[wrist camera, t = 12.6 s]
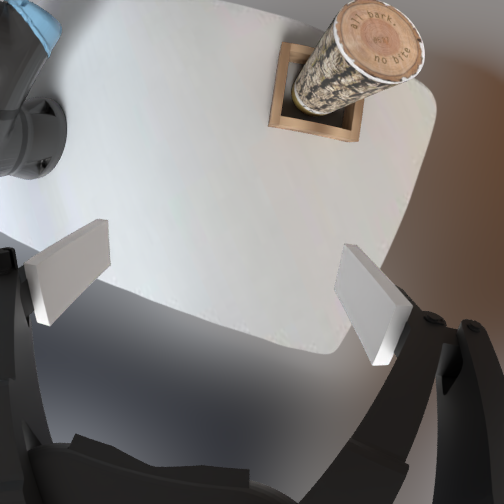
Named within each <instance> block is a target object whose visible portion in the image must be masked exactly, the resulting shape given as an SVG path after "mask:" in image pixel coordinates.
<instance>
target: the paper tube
mask: <svg viewBox="0 0 504 504" xmlns="http://www.w3.org/2000/svg"><path fill="white" fill-rule="evenodd" d="M424 58H425V51H424V45H423V42H422V39H421V37H420V34H419V32H418V31H417V29H416V27H415V26H414V25H413V24H412V22H411V21H410V20H409V19H408V18H407V17H406V16H405V15H404V14H403V13H401V12H400V11H399V10H397V9H396V8H394V7H393V6H391V5H388V4H386V3H384V2H381V1H378V0H354V1H352V2H349V3H348V4H346V5H345V6H344V7H343V8H342V9H341V10H340V11H339V12H338V14H337V15H336V17H335V18H334V20H333V21H332V23H331V24H330V26H329V27H328V29H327V31H326V32H325V33H324V35H323V37H322V38H321V40H320V41H319V43H318V44H317V46H316V48H315V49H314V51H313V52H312V54H311V56H310V57H309V59H308V61H307V62H306V64H305V65H304V67H303V69H302V70H301V72H300V74H299V75H298V77H297V79H296V81H295V82H294V84H293V86H292V91H291V95H292V100H293V102H294V104H295V106H296V107H297V108H298V109H299V110H300V111H301V112H303V113H304V114H306V115H309V116H314V117H319V116H324V115H326V114H329V113H331V112H333V111H336V110H338V109H340V108H342V107H345V106H347V105H349V104H351V103H354V102H356V101H358V100H361V99H363V98H366V97H368V96H370V95H373V94H375V93H378V92H380V91H383V90H385V89H388V88H390V87H393V86H396V85H398V84H401V83H404V82H406V81H408V80H410V79H412V78H414V77H415V76H416V75H417V74H418V73H419V72H420V70H421V68H422V66H423V64H424Z"/></svg>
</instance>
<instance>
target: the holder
mask: <svg viewBox="0 0 504 504" xmlns="http://www.w3.org/2000/svg"><path fill="white" fill-rule="evenodd" d="M314 49H315V48H312V47H308V46H303V45H298V44H292V43H286V42H282V45H281V49H280V52H279V59H278V65H277V72H276V78H275V85H274V91H273V98H272V104H271V111H270V118H269V124H268V127H275V128H281V129H287V130H292V131H298V132H303V133H308V134H313V135H318V136H323V137H328V138H332V139H336V140H341V141H345V142H358V141H359V134H360V128H361V121H362V113H363V106H364V98H363V99H361V100H358V101H356V102H354V103H351V104H349V105H347V106H345V107H344V115H343V122H342V128H338V127H333V126H329V125H325V124H320V123H315V122H310V121H305V120H300V119H295V118H289V117H284V116H281V110H282V104H283V97H284V90H285V84H286V77H287V70H288V63H289V62H293V63H299V64H304V65H305V64H306V62H307V61H308V59H309V57H310V56H311V54H312V52H313V51H314Z"/></svg>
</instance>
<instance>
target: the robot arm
mask: <svg viewBox="0 0 504 504" xmlns="http://www.w3.org/2000/svg"><path fill="white" fill-rule="evenodd" d="M61 33H62V27H61V24H60V23H59V22H58V20H56V19H55V18H54V17H53V16H52V15H51V14H49V13H48V12H47V11H45V10H44V9H42V8H41V7H39V6H38V5H36V4H34V3H33V2H29V1H28V0H4V1H3V2H1V1H0V177H2V176H6V175H10V176H14V177H18V178H22V179H26V180H32V179H36V178H40V177H43V176H45V175H47V174H48V173H49V172H51V171H52V170H53V168H54V167H55V166H56V164H57V163H58V161H59V159H60V157H61V155H62V152H63V149H64V146H65V141H66V120H65V116H64V113H63V110H62V109H61V107H60V105H59V104H58V103H57V102H56V101H54V100H52V99H50V98H44V97H35V98H31V99H29V100H26V101H25V99H26V97H27V95H28V93H29V91H30V89H31V87H32V85H33V83H34V81H35V79H36V77H37V76H38V74H39V72H40V70H41V69H42V67H43V65H44V63H45V62H46V60H47V58H49V57H50V55H51V51H52V49H53V48H54V46H55V44H56V43H57V41H58V39H59V38H60V36H61ZM110 265H111V263H110V249H109V230H108V220H102V219H96V220H94V221H93V222H91V223H89V224H87V225H85V226H84V227H82V228H80V229H78V230H76V231H75V232H73V233H71V234H70V235H68V236H66V237H64V238H63V239H61V240H59V241H58V242H56V243H54V244H53V245H51V246H49V247H48V248H46V249H45V250H43V251H41V252H40V253H38V254H37V255H35V256H33V257H32V258H30V259H29V260H27V261H26V262H24V265H23V266H21V267H20V268H18V265H17V260H16V254H15V249H14V248H10V247H6V248H1V249H0V504H393V502H394V500H395V498H396V496H397V494H398V492H399V490H400V488H401V486H402V484H403V482H404V480H405V477H406V475H407V472H408V470H409V465H408V464H406V463H405V461H406V458H407V456H408V454H409V451H410V449H411V447H412V444H413V442H414V439H415V437H416V434H417V432H418V429H419V426H420V423H421V421H422V418H423V415H424V412H425V409H426V406H427V403H428V400H429V396H430V393H431V390H432V386H433V383H434V379H435V376H436V389H437V413H438V440H437V441H438V442H437V464H436V477H435V486H434V495H433V502H432V504H504V375H503V372H502V369H501V366H500V364H499V361H498V358H497V356H496V353H495V351H494V348H493V346H492V343H491V341H490V338H489V336H488V334H487V331H486V330H485V328H484V327H483V326H482V325H481V324H480V323H479V322H477V321H473V320H468V319H465V320H462V321H461V324H460V326H459V328H458V329H453V328H448V327H446V326H447V325H446V322H445V320H444V319H443V318H442V317H441V316H439V315H437V314H435V313H432V312H429V311H422V310H421V309H420V308H419V307H418V306H417V305H416V304H415V302H414V301H412V299H411V298H410V297H409V296H408V295H407V294H406V292H405V291H404V290H403V289H401V288H399V287H398V286H396V285H394V284H393V283H392V282H391V281H390V279H389V278H388V277H387V276H386V275H385V274H384V273H383V272H382V271H381V270H380V269H379V268H378V267H377V265H376V264H375V263H374V262H373V261H372V260H371V259H370V258H369V257H368V256H367V255H366V254H365V253H364V252H363V251H362V250H361V249H360V248H359V247H358V246H357V245H352V244H344V247H343V252H342V257H341V261H340V265H339V270H338V274H337V278H336V282H335V287H334V290H335V292H336V294H337V296H338V298H339V300H340V301H341V303H342V305H343V307H344V309H345V311H346V313H347V315H348V317H349V319H350V321H351V323H352V325H353V327H354V329H355V331H356V333H357V335H358V337H359V339H360V341H361V343H362V345H363V347H364V349H365V351H366V353H367V355H368V357H369V360H370V362H371V364H372V365H389V363H390V360H391V358H392V356H393V354H394V353H395V355H396V357H397V360H396V362H395V364H394V366H393V368H392V370H391V372H390V374H389V375H388V377H387V379H386V381H385V383H384V385H383V387H382V388H381V390H380V392H379V394H378V395H377V397H376V399H375V400H374V402H373V404H372V406H371V407H370V409H369V411H368V412H367V414H366V416H365V417H364V419H363V420H362V422H361V423H360V425H359V426H358V428H357V429H356V431H355V432H354V434H353V435H352V437H351V438H350V439H349V441H348V442H347V443H346V445H345V446H344V447H343V449H342V450H341V452H340V453H339V454H338V456H337V457H336V458H335V460H334V461H333V463H332V464H331V465H330V466H329V468H328V469H327V470H326V471H325V473H324V474H323V475H322V477H321V478H320V479H319V480H318V481H317V483H316V484H315V485H314V486H313V487H312V488H311V490H310V491H309V492H308V493H307V494H306V495H305V497H304V498H303V499H302V500H301V501H300V502H299V503H296V502H295V501H294V500H293V499H291V498H290V497H288V496H287V495H285V494H283V493H282V492H280V491H278V490H276V489H274V488H271V487H269V486H267V485H264V484H261V483H258V482H254V481H250V480H249V469H235V468H223V467H213V466H204V465H201V466H182V467H154V466H150V465H148V464H145V463H144V462H142V461H140V460H138V459H135V458H134V457H132V456H130V455H128V454H126V453H124V452H122V451H120V450H119V449H117V448H115V447H113V446H111V445H107V444H104V443H101V442H98V441H95V440H92V439H89V438H86V437H83V436H81V435H78V434H75V436H74V438H73V440H72V442H71V443H53V442H52V438H51V435H50V432H49V428H48V424H47V420H46V416H45V412H44V407H43V403H42V398H41V393H40V388H39V382H38V376H37V370H36V363H35V355H34V346H33V336H32V322H31V319H30V316H29V315H30V314H31V313H32V312H33V311H34V312H35V315H36V319H37V322H38V323H41V324H45V325H48V326H51V324H52V323H53V322H54V321H55V320H56V319H57V318H58V317H59V316H60V315H61V314H62V313H63V312H64V311H65V310H66V309H67V308H68V307H69V306H70V305H71V303H72V302H73V301H74V300H75V299H76V298H77V297H78V296H79V295H80V294H81V293H82V292H83V291H84V290H85V289H86V288H87V287H88V286H89V285H90V284H91V283H92V282H94V281H95V280H96V279H97V278H98V277H99V276H100V275H101V274H102V273H103V272H104V271H105V270H106V269H107V268H108V267H109V266H110Z"/></svg>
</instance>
